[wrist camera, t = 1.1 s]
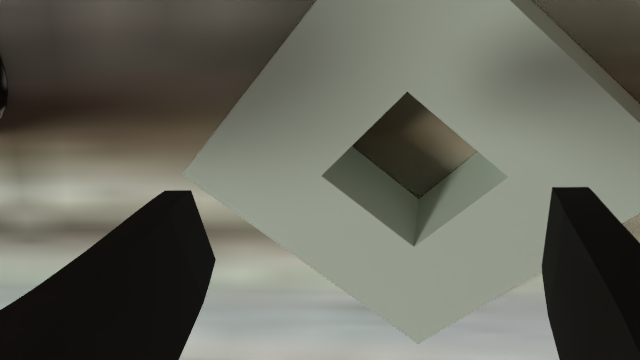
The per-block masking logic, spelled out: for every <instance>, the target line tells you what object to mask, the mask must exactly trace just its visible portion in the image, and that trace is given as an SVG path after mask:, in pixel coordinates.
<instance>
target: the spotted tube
mask: <svg viewBox="0 0 640 360" xmlns="http://www.w3.org/2000/svg"><path fill="white" fill-rule="evenodd" d="M6 101H7V83H6V75H5V71H4V68H3V65H2V62H1V58H0V119H1V117H2V115H3V112H4V110H5V107H6Z"/></svg>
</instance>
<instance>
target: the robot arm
mask: <svg viewBox="0 0 640 360" xmlns="http://www.w3.org/2000/svg"><path fill="white" fill-rule="evenodd" d="M214 264H215V257H214V254H213V251H212V248H211V245H210V243H209V240H208V237H207V234H206V231H205V229H204V226H203V223H202V220H201V217H200V215H199V212H198V209H197V206H196V203H195V201H194V198H193V195H192V192H191V191H164V192H163V193H161V194H160V195H158V196H157V197H155V198H154V199H152V200H151V201H150V202H148V203H147V204H146V205H144V206H143V207H142V208H140V209H139V210H138V211H137V212H135V213H134V214H133V215H131V216H130V217H129V218H128V219H126V220H125V221H124V222H123V223H121V224H120V225H119V226H118V227H116V228H115V229H114V230H112V231H111V232H110V233H109V234H107V235H106V236H105V237H103V238H102V239H101V240H100V241H98V242H97V243H96V244H94V245H93V246H92V247H91V248H89V249H88V250H87V251H85V252H84V253H83V254H81V255H80V256H79V257H77V258H76V259H74V260H73V261H72V262H70V263H69V264H68V265H66V266H65V267H63V268H62V269H61V270H59V271H58V272H57V273H55V274H54V275H52V276H51V277H50V278H48V279H47V280H45V281H44V282H43V283H41V284H40V285H38V286H37V287H36V288H34V289H33V290H31V291H30V292H28V293H27V294H25V295H24V296H22V297H20V298H19V299H17V300H16V301H14V302H13V303H11V304H9V305H8V306H6V307H5V308H3V309H1V310H0V360H179V358H180V355H181V353H182V351H183V349H184V346H185V344H186V342H187V340H188V337H189V335H190V333H191V330H192V328H193V326H194V323H195V321H196V319H197V317H198V314H199V312H200V309H201V307H202V305H203V302H204V299H205V296H206V293H207V289H208V286H209V283H210V279H211V275H212V271H213V267H214ZM542 275H543V282H544V290H545V297H546V304H547V311H548V317H549V321H550V325H551V328H552V332H553V336H554V340H555V344H556V347H557V351H558V355H559V359H560V360H640V243H639V242H638V241H637V240H636V239H635V237H634V236H633V235H632V234H631V233H630V232H629V231H628V230H627V229H626V228H625V227H624V226H623V224H622V223H621V222H620V221H619V220H618V219H617V218H616V217H615V216H614V214H613V213H612V212H611V211H610V210H609V209H608V208H607V207H606V205H605V204H604V203H603V202H602V201H601V200H600V199H599V197H598V196H597V195H596V194H595V193H594V192H593V191H592V190H591V189H590V188H589V187H552V192H551V200H550V207H549V215H548V222H547V229H546V237H545V244H544V252H543V259H542Z"/></svg>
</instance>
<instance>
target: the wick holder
mask: <svg viewBox="0 0 640 360" xmlns="http://www.w3.org/2000/svg"><path fill="white" fill-rule="evenodd" d="M406 92H408V93H410V94H411V95H412V96H413V97H414V98H415V99H417V100H418V101H419V102H420V103H421V104H423V105H424V106H425V107H426V108H427V109H428V110H430V111H431V112H432V113H433V114H434V115H435V116H437V117H438V118H439V119H440V120H441V121H443V122H444V123H445V124H446V125H447V126H448V127H450V128H451V129H452V130H453V131H454V132H456V133H457V134H458V135H459V136H460V137H461V138H463V139H464V140H465V141H466V142H467V143H469V144H470V145H471V146H472V147H473V148H474V149H476V150H477V151H478V152H477V153H475V154H474V155H473V156H472V157H471V158H469V159H468V160H467V161H466V162H464V163H463V164H462V165H461V166H459V167H458V168H457V169H456V170H454V171H453V172H452V173H451V174H449V175H448V176H447V177H446V178H444V179H443V180H442V181H441V182H439V183H438V184H437V185H436V186H434V187H433V188H432V189H431V190H429V191H428V192H427V193H426V194H424V195H423V196H422V197H421V198H420V199H418V198H417V197H415V196H414V195H413V194H412V193H410V192H409V191H408V190H407V189H405V188H404V187H403V186H402V185H400V184H399V183H398V182H396V181H395V180H394V179H393V178H391V177H390V176H389V175H388V174H386V173H385V172H384V171H383V170H381V169H380V168H379V167H378V166H376V165H375V164H374V163H373V162H371V161H370V160H369V159H368V158H366V157H365V156H364V155H362V154H361V153H360V152H359V151H357V150H356V149H355V148H354V147H352V145H353V144H354V143H355V142H356V141H357V140H358V139H359V138H360V137H361V136H362V135H363V134H364V133H365V132H366V131H367V130H369V129H370V128H371V127H372V126H373V125H374V124H375V123H376V122H377V121H378V120H379V119H380V118H381V117H382V116H383V115H384V114H385V113H386V112H387V111H388V110H389V109H390V108H391V107H392V106H393V105H394V104H395V103H396V102H397V101H398V100H399V99H400V98H401V97H402V96H403V95H404V94H405V93H406ZM182 175H183V176H184V177H186V178H187V179H189V180H190V181H191V182H193V183H194V184H195V185H197V186H198V187H200V188H201V189H202V190H204V191H205V192H207V193H208V194H209V195H211V196H212V197H214V198H215V199H216V200H218V201H219V202H221V203H222V204H223V205H225V206H226V207H228V208H229V209H230V210H232V211H233V212H235V213H236V214H237V215H239V216H240V217H242V218H243V219H244V220H246V221H247V222H249V223H250V224H251V225H253V226H254V227H256V228H257V229H258V230H260V231H261V232H262V233H264V234H265V235H267V236H268V237H269V238H271V239H272V240H274V241H275V242H276V243H278V244H279V245H281V246H282V247H283V248H285V249H286V250H288V251H289V252H290V253H292V254H293V255H295V256H296V257H297V258H299V259H300V260H302V261H303V262H304V263H306V264H307V265H309V266H310V267H311V268H313V269H314V270H316V271H317V272H318V273H320V274H321V275H323V276H324V277H325V278H327V279H328V280H329V281H331V282H332V283H334V284H335V285H336V286H338V287H339V288H341V289H342V290H343V291H345V292H346V293H348V294H349V295H350V296H352V297H353V298H355V299H356V300H357V301H359V302H360V303H362V304H363V305H364V306H366V307H367V308H369V309H370V310H371V311H373V312H374V313H376V314H377V315H378V316H380V317H381V318H383V319H384V320H385V321H387V322H388V323H389V324H391V325H392V326H394V327H395V328H396V329H398V330H399V331H401V332H402V333H403V334H405V335H406V336H408V337H409V338H410V339H412V340H413V341H415V342H416V343H417V344H419V343H421V342H422V341H424V340H426V339H427V338H429V337H431V336H433V335H434V334H436V333H438V332H439V331H441V330H443V329H444V328H446V327H448V326H449V325H451V324H453V323H455V322H456V321H458V320H460V319H461V318H463V317H465V316H466V315H468V314H470V313H471V312H473V311H475V310H477V309H478V308H480V307H482V306H483V305H485V304H487V303H488V302H490V301H492V300H493V299H495V298H497V297H499V296H500V295H502V294H504V293H505V292H507V291H509V290H510V289H512V288H514V287H516V286H517V285H519V284H521V283H522V282H524V281H526V280H527V279H529V278H531V277H532V276H534V275H536V274H538V273H539V272H541V271H542V259H543V252H544V244H545V237H546V229H547V222H548V215H549V207H550V200H551V192H552V187H589V188H590V189H591V190H592V191H593V192H594V193H595V194H596V195H597V196H598V197H599V199H600V200H601V201H602V202H603V203H604V204H605V205H606V207H607V208H608V209H609V210H610V211H611V212H612V213H613V214H614V216H615V217H616V218H617V219H618V220H619V221H620V222H621V223H624V222H626V221H627V220H629V219H631V218H632V217H634V216H636V215H637V214H639V213H640V104H639V103H638V102H637V101H636V100H635V99H634V98H633V97H632V96H631V95H630V94H629V93H628V92H627V91H626V90H625V89H623V88H622V87H621V86H620V85H619V84H618V83H617V82H616V81H615V80H614V79H613V78H612V77H611V76H610V75H609V74H608V73H607V72H606V71H605V70H604V69H603V68H602V67H601V66H600V65H598V64H597V63H596V62H595V61H594V60H593V59H592V58H591V57H590V56H589V55H588V54H587V53H586V52H585V51H584V50H583V49H582V48H581V47H580V46H579V45H578V44H577V43H576V42H574V41H573V40H572V39H571V38H570V37H569V36H568V35H567V34H566V33H565V32H564V31H563V30H562V29H561V28H560V27H559V26H558V25H557V24H556V23H555V22H554V21H553V20H552V19H551V18H549V17H548V16H547V15H546V14H545V13H544V12H543V11H542V10H541V9H540V8H539V7H538V6H537V5H536V4H535V3H534V2H533V1H532V0H316V1H315V2H314V3H313V5H312V6H311V7H310V9H309V10H308V11H307V12H306V14H305V15H304V16H303V18H302V19H301V20H300V21H299V23H298V24H297V25H296V27H295V28H294V29H293V31H292V32H291V33H290V34H289V36H288V37H287V38H286V40H285V41H284V42H283V43H282V45H281V46H280V47H279V49H278V50H277V51H276V53H275V54H274V55H273V56H272V58H271V59H270V60H269V62H268V63H267V64H266V65H265V67H264V68H263V69H262V71H261V72H260V73H259V74H258V76H257V77H256V78H255V80H254V81H253V82H252V84H251V85H250V86H249V87H248V89H247V90H246V91H245V93H244V94H243V95H242V96H241V98H240V99H239V100H238V102H237V103H236V104H235V106H234V107H233V108H232V109H231V111H230V112H229V113H228V115H227V116H226V117H225V118H224V120H223V121H222V122H221V124H220V125H219V126H218V128H217V129H216V130H215V131H214V133H213V134H212V135H211V137H210V138H209V139H208V141H207V142H206V143H205V145H204V146H203V147H202V149H201V150H200V151H199V153H198V154H197V155H196V157H195V158H194V159H193V161H192V162H191V163H190V165H189V166H188V167H187V169H186V170H185V171H184V173H183V174H182Z"/></svg>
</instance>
